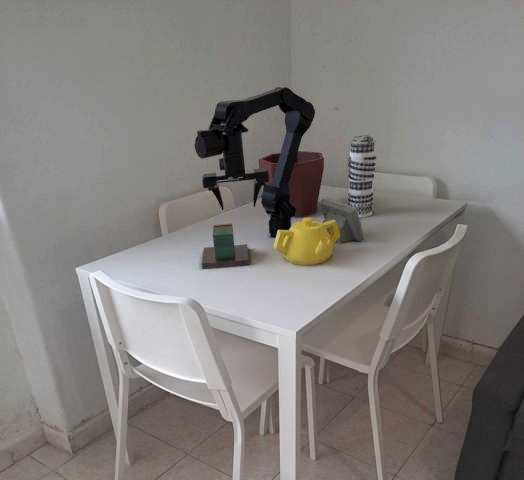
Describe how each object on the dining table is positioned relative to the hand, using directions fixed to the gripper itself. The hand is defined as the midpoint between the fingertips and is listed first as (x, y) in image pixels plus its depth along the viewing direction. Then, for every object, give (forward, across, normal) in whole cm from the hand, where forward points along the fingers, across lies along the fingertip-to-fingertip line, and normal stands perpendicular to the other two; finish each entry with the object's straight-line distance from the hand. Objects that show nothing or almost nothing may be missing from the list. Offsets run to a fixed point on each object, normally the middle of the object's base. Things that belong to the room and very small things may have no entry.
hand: (238, 208), depth 144 cm
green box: (+10, +5, +9) cm, 14 cm away
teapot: (+12, -19, +16) cm, 27 cm away
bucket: (+13, -20, -33) cm, 41 cm away
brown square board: (+12, +5, +9) cm, 16 cm away
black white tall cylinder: (+13, -42, -23) cm, 50 cm away
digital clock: (+12, -31, -1) cm, 33 cm away
